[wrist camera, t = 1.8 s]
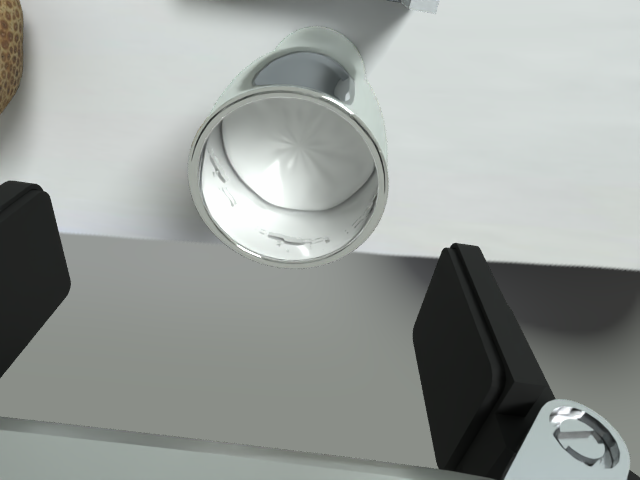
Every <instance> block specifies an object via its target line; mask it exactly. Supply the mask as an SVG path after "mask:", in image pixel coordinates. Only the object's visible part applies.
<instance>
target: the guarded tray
mask: <svg viewBox="0 0 640 480" xmlns="http://www.w3.org/2000/svg"><path fill="white" fill-rule="evenodd" d="M388 1H393V2H399V3H402V4H403V5H404V6H405V7H407V8H408V9H409V10H415V11H421V12H427V13H433V14H436V11H437V7H438V4H439V0H388Z"/></svg>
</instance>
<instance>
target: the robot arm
mask: <svg viewBox="0 0 640 480" xmlns="http://www.w3.org/2000/svg"><path fill="white" fill-rule="evenodd" d="M70 286H71V281H70V277H69V272H68V268H67V264H66V260H65V256H64V252H63V248H62V244H61V240H60V236H59V232H58V227H57V223H56V219H55V215H54V211H53V207H52V203H51V199H50V196H49V194H48V193H47V192H45V191H43V189H42V188H41V187H40V186H39V185H37V184H32V183H25V182H18V181H7V182H5V183H3V184H2V185H0V378H1V377H2V375H3V374H4V373H5V372H6V370H7V369H8V368H9V367H10V365H11V364H12V363H13V362H14V360H15V359H16V358H17V357H18V356H19V354H20V353H21V352H22V351H23V349H24V348H25V347H26V346H27V345H28V343H29V342H30V341H31V340H32V338H33V337H34V336H35V335H36V333H37V332H38V331H39V330H40V328H41V327H42V326H43V325H44V323H45V322H46V321H47V320H48V319H49V317H50V316H51V315H52V314H53V312H54V311H55V310H56V309H57V307H58V306H59V305H60V304H61V303H62V301H63V300H64V299H65V298H66V296H67V295H68V293H69V290H70ZM413 344H414V348H415V354H416V359H417V364H418V369H419V374H420V380H421V385H422V390H423V395H424V400H425V406H426V411H427V416H428V421H429V425H430V431H431V436H432V442H433V447H434V451H435V457H436V462H437V466H438V468H439V469H434V468H426V467H419V466H411V465H405V464H397V463H389V462H383V461H376V460H368V459H360V458H352V457H344V456H336V455H327V454H318V453H311V452H302V451H294V450H286V449H278V448H268V447H261V446H252V445H244V444H235V443H228V442H219V441H210V440H202V439H193V438H184V437H176V436H167V435H159V434H150V433H141V432H132V431H124V430H114V429H105V428H98V427H89V426H80V425H71V424H62V423H53V422H44V421H35V420H25V419H17V418H8V417H0V480H640V477H638V476H637V475H636V474H634V473H633V472H632V471H630V470H629V469H630V454H629V452H628V449H627V446H626V444H625V442H624V441H623V439H622V438H621V436H620V435H619V433H618V432H617V430H615V428H614V427H613V426H612V425H611V424H610V423H609V422H608V421H607V420H606V419H604V418H603V417H602V416H600V415H599V414H597V413H596V412H595V411H594V410H592V409H590V408H588V407H586V406H584V405H582V404H580V403H577V402H573V401H570V400H564V399H555V397H554V395H553V393H552V391H551V389H550V387H549V385H548V383H547V381H546V379H545V377H544V375H543V373H542V371H541V369H540V367H539V364H538V363H537V360H536V359H535V356H534V354H533V352H532V350H531V348H530V346H529V344H528V342H527V340H526V338H525V336H524V334H523V332H522V330H521V328H520V326H519V324H518V322H517V320H516V318H515V316H514V314H513V312H512V310H511V309H510V307H509V306H508V305H507V303H506V301H505V299H504V297H503V295H502V293H501V291H500V289H499V287H498V285H497V283H496V280H495V278H494V276H493V275H492V273H491V270H490V268H489V266H488V264H487V262H486V260H485V258H484V256H483V254H482V252H481V250H480V248H479V247H478V246H473V245H466V244H459V243H454V244H452V245H451V247H450V248H444V249H443V250H442V252H441V255H440V258H439V260H438V263H437V266H436V268H435V271H434V274H433V276H432V279H431V282H430V285H429V287H428V290H427V293H426V295H425V298H424V301H423V303H422V306H421V309H420V311H419V314H418V317H417V320H416V322H415V325H414V328H413Z"/></svg>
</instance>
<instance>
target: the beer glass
mask: <svg viewBox="0 0 640 480" xmlns="http://www.w3.org/2000/svg"><path fill="white" fill-rule="evenodd" d="M188 183H189V188H190V193H191V196H192V199H193V202H194V204H195V207H196V209H197V211H198V213H199V215H200V216H201V218H202V220H203V221H204V223H205V224H206V225H207V227H208V228H209V229H210V230H211V232H212V233H213V234H214V235H215V236H216V237H217V238H218V239H219V240H220V241H222V242H223V243H224V244H225V245H226V246H228V247H229V248H231V249H232V250H233V251H235V252H237V253H238V254H240V255H242V256H244V257H246V258H248V259H250V260H252V261H255V262H258V263H261V264H264V265H267V266H272V267H277V268H285V269H305V268H312V267H318V266H322V265H326V264H329V263H331V262H334V261H337V260H338V259H341V258H343V257H345V256H346V255H348V254H350V253H351V252H353V251H354V250H355V249H357V248H358V247H359V246H360V245H361V244H362V243H364V242H365V241H366V239H367V238H368V237H369V236H370V235H371V234H372V232H373V231H374V229H375V228H376V226H377V225H378V223H379V221H380V219H381V217H382V215H383V212H384V209H385V206H386V202H387V198H388V189H389V177H388V146H387V136H386V128H385V122H384V118H383V114H382V111H381V108H380V105H379V102H378V99H377V97H376V95H375V93H374V91H373V89H372V87H371V86H370V84H369V83H368V81H367V80H366V72H365V67H364V63H363V60H362V57H361V55H360V53H359V51H358V50H357V48H356V47H355V46H354V45H353V43H352V42H351V41H350V40H349V39H347V38H346V37H345V36H344V35H342V34H341V33H339V32H337V31H335V30H333V29H330V28H326V27H319V26H313V27H306V28H302V29H299V30H297V31H295V32H293V33H291V34H289V35H288V36H287V37H285V38H284V39H283V40H282V41H281V42H280V43H279V45H278V46H277V47H276V49H275V51H272V52H269V53H267V54H265V55H263V56H261V57H259V58H258V59H256V60H255V61H253V62H252V63H251V64H250V65H248V66H247V67H246V68H245V69H244V70H242V71H241V72H240V73H239V74H238V75H237V76H236V77H235V78H234V79H233V80H232V82H231V83H230V84H229V85H228V87H227V88H226V89H225V90H224V92H223V93H222V94H221V96H220V97H219V99H218V101H217V102H216V104H215V105H214V107H213V109H212V110H211V112H210V114H209V116H208V117H207V118H206V120H205V121H204V122H203V124H202V125H201V127H200V128H199V130H198V132H197V134H196V136H195V138H194V140H193V143H192V146H191V149H190V154H189V159H188Z"/></svg>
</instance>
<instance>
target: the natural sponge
mask: <svg viewBox="0 0 640 480" xmlns="http://www.w3.org/2000/svg"><path fill="white" fill-rule="evenodd" d="M22 43H23V13H22V8H21V4H20V1H19V0H0V114H1V113H2V112H3V110H4V109H5V107H6V106H7V105H8V103H9V102H10V101H11V99H12V98H13V96H14V95H15V93H16V91H17V89H18V87H19V84H20V80H21V77H22V70H23V47H22Z"/></svg>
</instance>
